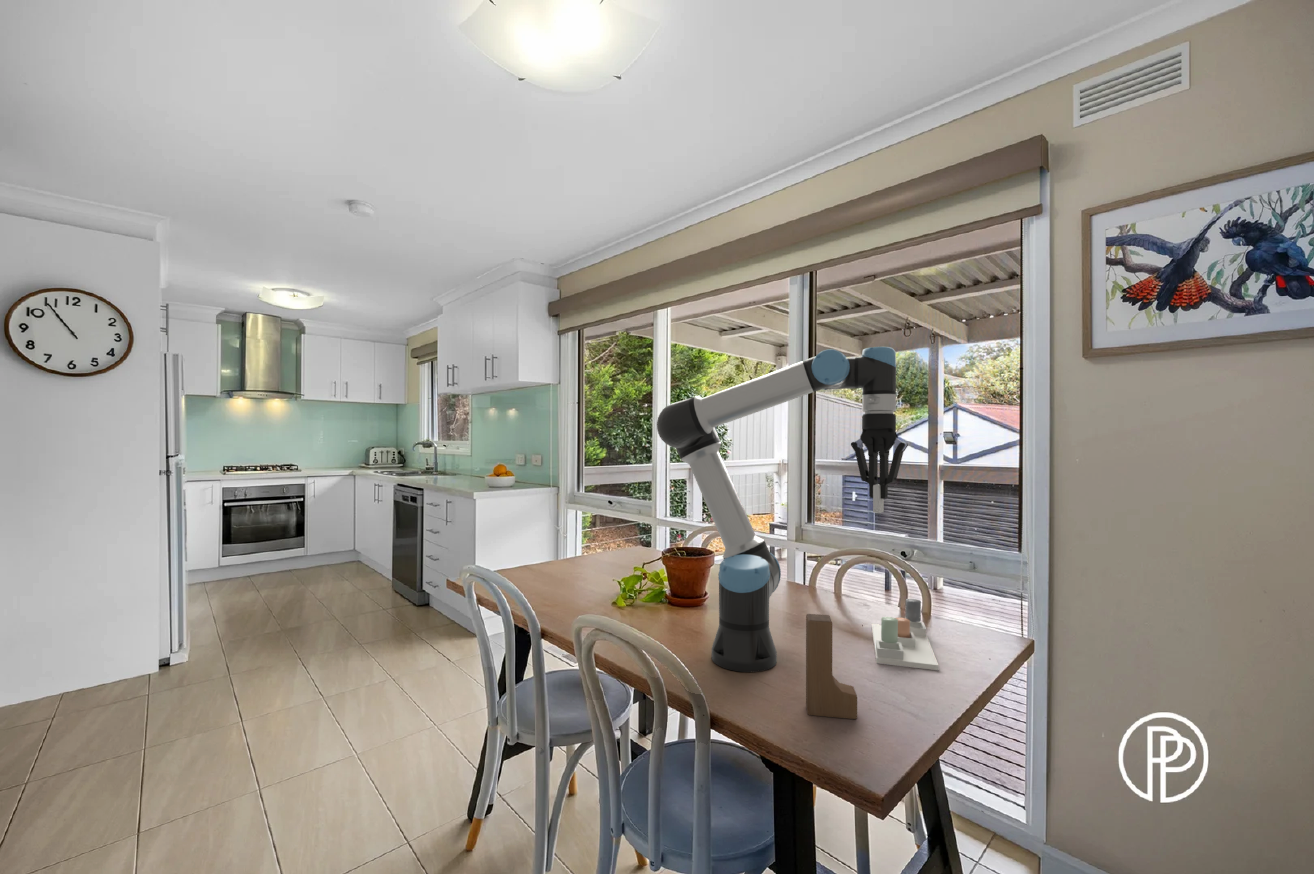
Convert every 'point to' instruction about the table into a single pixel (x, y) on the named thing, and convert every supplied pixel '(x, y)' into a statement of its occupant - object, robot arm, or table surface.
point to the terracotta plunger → (903, 627)
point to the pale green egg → (889, 629)
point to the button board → (906, 649)
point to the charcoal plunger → (913, 610)
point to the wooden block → (825, 674)
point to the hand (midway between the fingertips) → (878, 512)
